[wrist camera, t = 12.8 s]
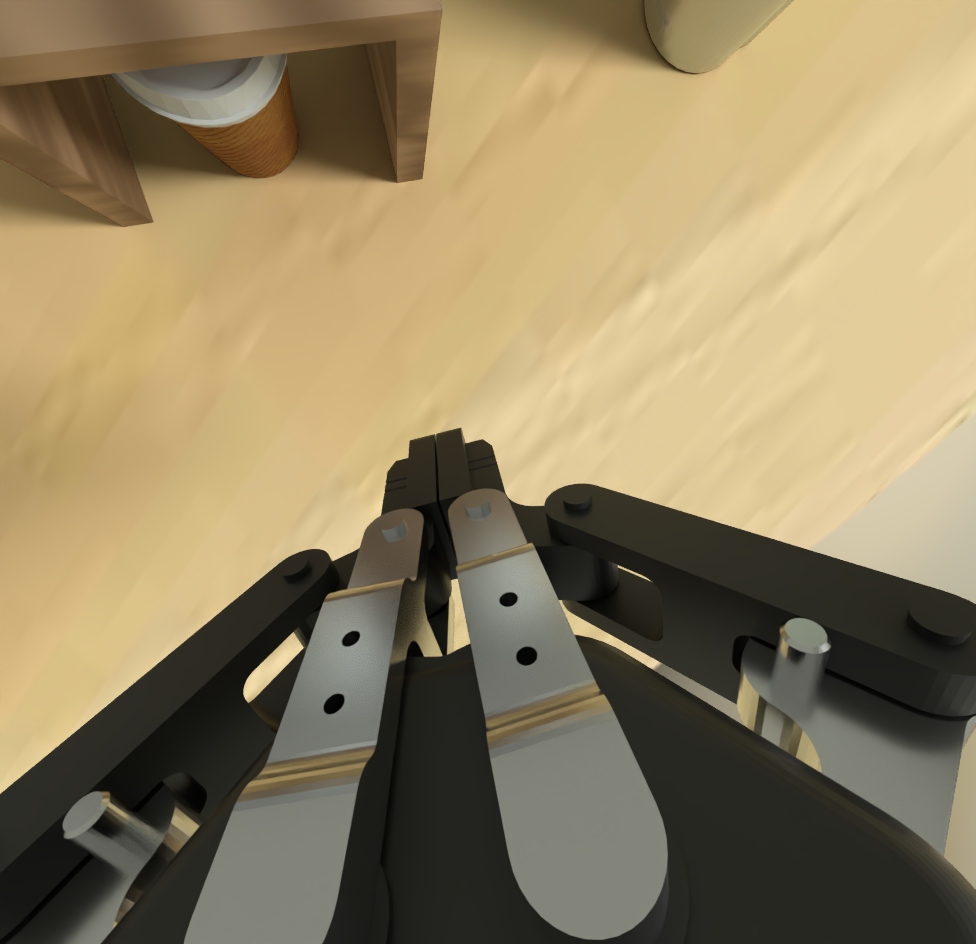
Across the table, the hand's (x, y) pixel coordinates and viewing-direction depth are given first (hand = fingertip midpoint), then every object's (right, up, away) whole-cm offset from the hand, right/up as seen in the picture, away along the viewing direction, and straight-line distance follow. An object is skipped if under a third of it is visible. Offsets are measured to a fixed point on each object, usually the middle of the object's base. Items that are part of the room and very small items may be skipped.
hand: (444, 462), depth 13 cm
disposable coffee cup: (-16, +25, +20) cm, 36 cm away
